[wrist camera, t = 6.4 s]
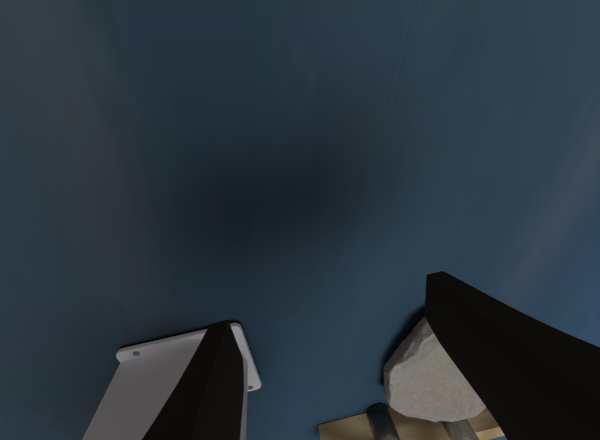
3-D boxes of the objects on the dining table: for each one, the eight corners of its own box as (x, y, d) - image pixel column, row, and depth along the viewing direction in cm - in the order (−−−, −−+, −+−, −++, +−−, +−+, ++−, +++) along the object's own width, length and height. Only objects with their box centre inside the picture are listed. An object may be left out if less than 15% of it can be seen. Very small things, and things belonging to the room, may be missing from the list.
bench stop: (320, 435, 30) (331, 495, 26) (316, 418, 29) (327, 479, 24) (491, 391, 31) (530, 442, 27) (495, 373, 30) (537, 424, 25)
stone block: (368, 372, 30) (458, 387, 30) (377, 418, 26) (483, 436, 26) (401, 282, 26) (506, 300, 26) (419, 318, 21) (546, 340, 21)
